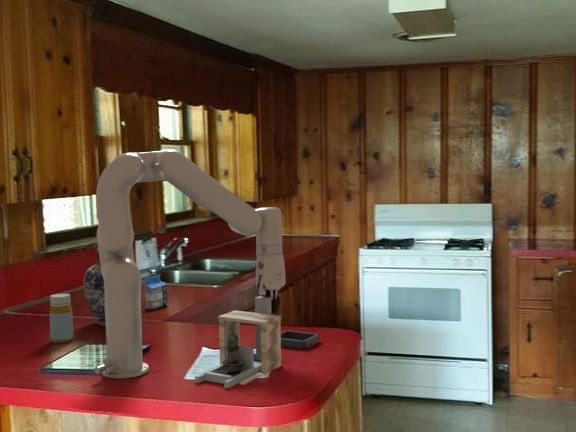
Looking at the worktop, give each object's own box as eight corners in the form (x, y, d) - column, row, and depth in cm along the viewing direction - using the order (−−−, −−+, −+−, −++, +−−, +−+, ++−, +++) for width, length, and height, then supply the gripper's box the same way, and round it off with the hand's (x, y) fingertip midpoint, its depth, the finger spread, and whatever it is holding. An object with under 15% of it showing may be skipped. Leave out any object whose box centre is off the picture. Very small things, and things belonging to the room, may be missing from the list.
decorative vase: (76, 320, 250) (74, 244, 247) (124, 314, 260) (123, 241, 258) (96, 332, 232) (94, 250, 230) (147, 325, 243) (146, 246, 241)
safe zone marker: (243, 384, 175) (243, 383, 175) (198, 377, 182) (198, 375, 182) (262, 375, 183) (261, 373, 183) (218, 367, 190) (218, 366, 190)
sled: (228, 388, 173) (226, 318, 171) (195, 382, 178) (193, 314, 176) (282, 359, 196) (281, 297, 195) (252, 355, 202) (250, 294, 200)
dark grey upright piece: (232, 370, 188) (231, 327, 187) (249, 373, 184) (248, 330, 183) (218, 375, 183) (216, 331, 182) (234, 379, 180) (233, 334, 179)
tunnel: (266, 374, 184) (265, 322, 183) (219, 366, 191) (217, 316, 190) (282, 365, 191) (281, 315, 190) (235, 358, 199) (234, 310, 198)
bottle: (67, 336, 227) (65, 292, 226) (77, 340, 222) (75, 295, 221) (47, 341, 222) (44, 295, 221) (56, 344, 217) (54, 298, 216)
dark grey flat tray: (304, 349, 207) (304, 341, 206) (270, 345, 212) (270, 337, 212) (319, 341, 215) (319, 334, 215) (286, 337, 221) (286, 330, 221)
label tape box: (153, 309, 267) (152, 278, 266) (145, 308, 269) (144, 277, 268) (168, 305, 275) (167, 275, 274) (160, 304, 277) (159, 274, 276)
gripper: (267, 253, 190) (268, 318, 192) (292, 247, 203) (294, 308, 205) (244, 252, 194) (246, 316, 196) (271, 246, 207) (272, 306, 209)
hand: (270, 311), depth 200 cm, fingers closed
